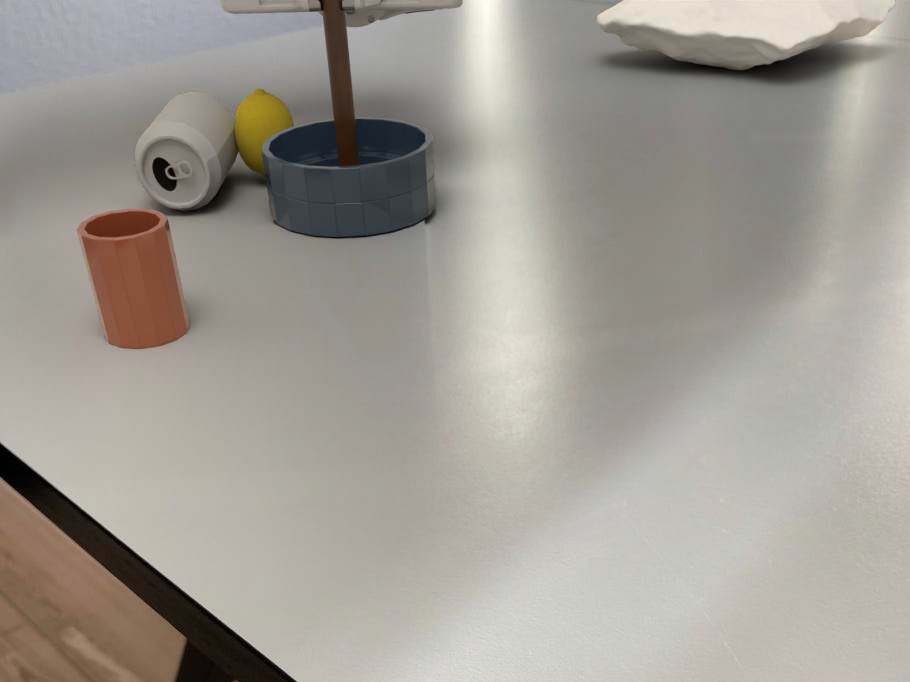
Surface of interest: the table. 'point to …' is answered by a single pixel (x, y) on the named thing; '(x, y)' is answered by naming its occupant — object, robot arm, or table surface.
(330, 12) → the stick
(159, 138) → the can
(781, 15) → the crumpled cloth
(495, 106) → the table surface
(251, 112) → the lemon
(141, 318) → the holder
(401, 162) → the bowl
